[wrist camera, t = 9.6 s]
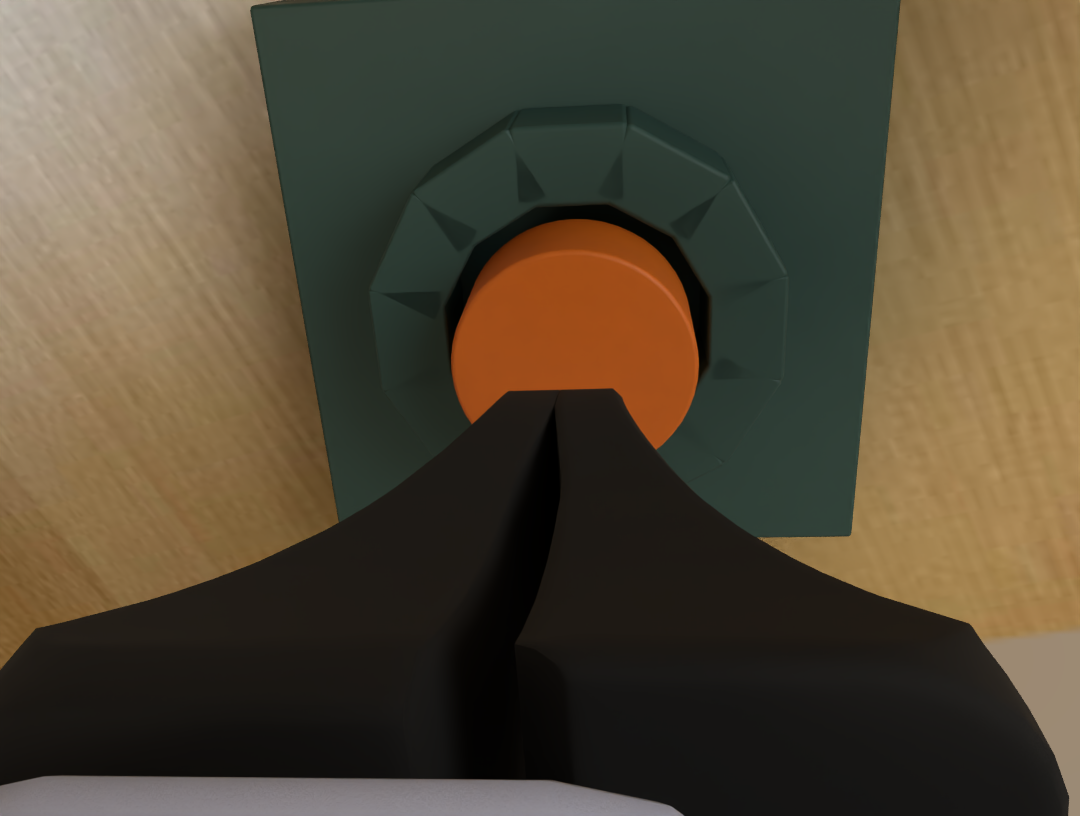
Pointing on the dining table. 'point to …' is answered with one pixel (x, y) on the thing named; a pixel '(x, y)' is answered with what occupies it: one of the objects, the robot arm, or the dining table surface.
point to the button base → (592, 212)
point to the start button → (579, 324)
